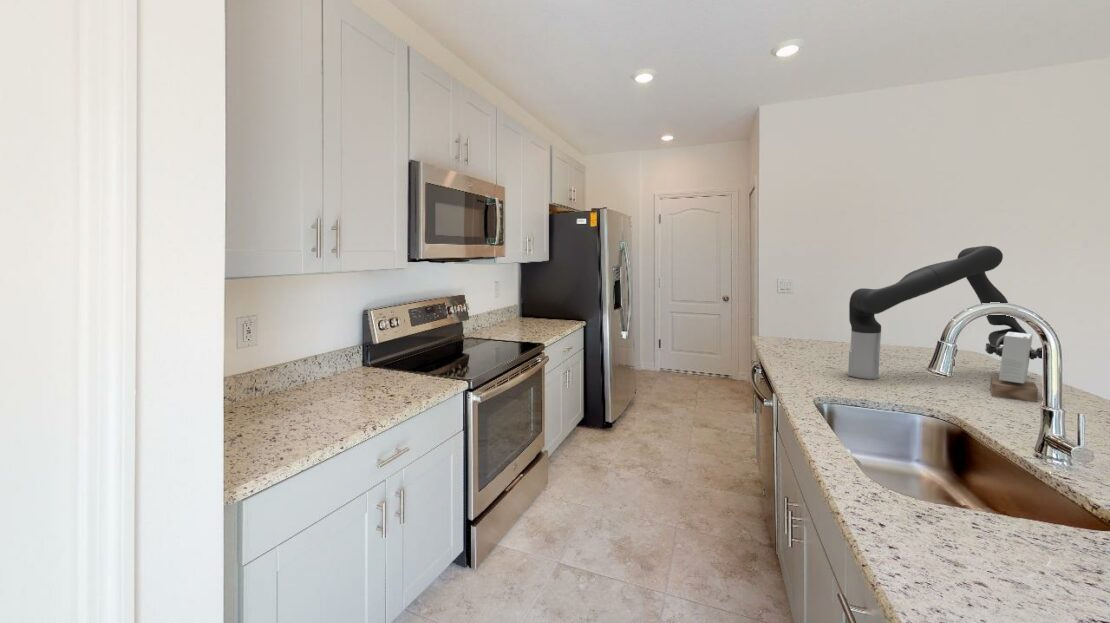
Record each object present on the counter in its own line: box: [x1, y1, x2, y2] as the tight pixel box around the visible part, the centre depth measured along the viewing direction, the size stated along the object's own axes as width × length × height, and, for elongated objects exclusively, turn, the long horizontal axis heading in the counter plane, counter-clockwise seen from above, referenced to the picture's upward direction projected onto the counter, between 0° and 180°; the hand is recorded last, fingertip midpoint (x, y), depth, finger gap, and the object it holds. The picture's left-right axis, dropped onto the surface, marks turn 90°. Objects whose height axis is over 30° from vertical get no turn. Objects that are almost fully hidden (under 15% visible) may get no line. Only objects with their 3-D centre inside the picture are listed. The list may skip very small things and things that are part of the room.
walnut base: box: [989, 377, 1039, 403], centre depth 146 cm, size 10×10×4 cm
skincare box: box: [998, 332, 1034, 383], centre depth 145 cm, size 8×6×15 cm
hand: (1016, 354), depth 143 cm, fingers closed on skincare box, 6 cm apart
